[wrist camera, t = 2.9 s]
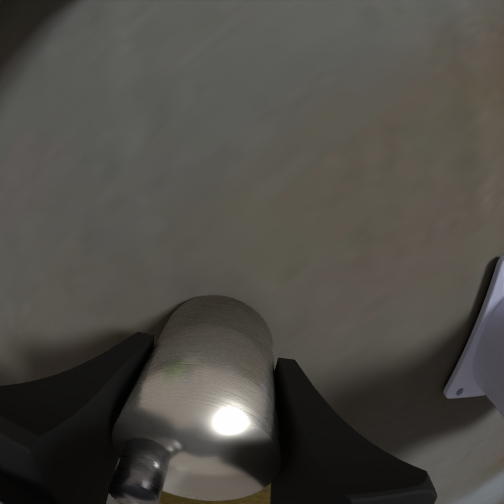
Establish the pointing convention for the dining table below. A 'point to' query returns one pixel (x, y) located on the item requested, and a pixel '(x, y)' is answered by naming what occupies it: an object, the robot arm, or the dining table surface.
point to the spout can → (201, 409)
